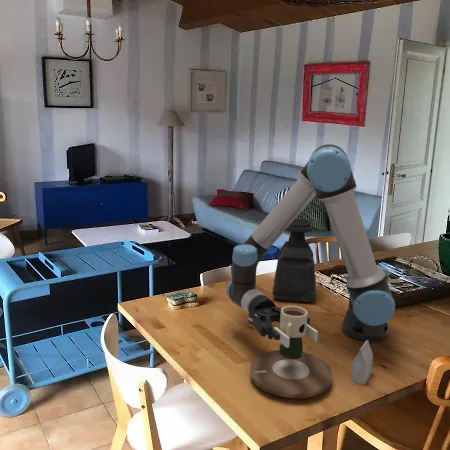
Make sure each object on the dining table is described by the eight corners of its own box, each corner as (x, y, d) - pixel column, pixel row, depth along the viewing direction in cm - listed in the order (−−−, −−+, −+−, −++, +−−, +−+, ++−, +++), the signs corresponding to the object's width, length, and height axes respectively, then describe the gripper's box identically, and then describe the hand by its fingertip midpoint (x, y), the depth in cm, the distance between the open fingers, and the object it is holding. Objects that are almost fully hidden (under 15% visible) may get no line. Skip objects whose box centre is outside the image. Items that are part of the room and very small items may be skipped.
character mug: (298, 368, 126) (302, 321, 123) (272, 361, 128) (275, 316, 125) (308, 349, 136) (311, 305, 133) (283, 343, 138) (286, 301, 135)
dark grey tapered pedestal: (274, 285, 203) (277, 215, 195) (314, 288, 200) (319, 217, 193) (272, 302, 185) (275, 225, 178) (315, 305, 183) (321, 228, 176)
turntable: (313, 351, 146) (314, 346, 146) (345, 393, 125) (345, 387, 125) (242, 357, 142) (242, 352, 141) (262, 402, 121) (262, 396, 120)
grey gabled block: (371, 373, 138) (374, 341, 135) (364, 385, 132) (367, 351, 130) (358, 370, 139) (361, 338, 137) (350, 380, 134) (353, 347, 131)
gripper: (287, 312, 151) (333, 345, 132) (226, 323, 142) (267, 360, 123) (288, 289, 149) (336, 319, 130) (227, 299, 140) (268, 333, 121)
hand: (302, 339), depth 126 cm, fingers closed on character mug, 8 cm apart
